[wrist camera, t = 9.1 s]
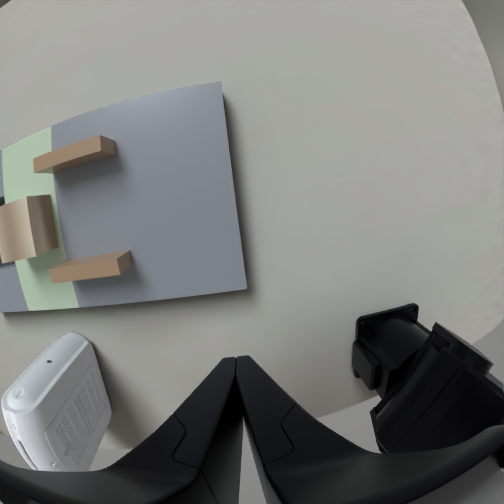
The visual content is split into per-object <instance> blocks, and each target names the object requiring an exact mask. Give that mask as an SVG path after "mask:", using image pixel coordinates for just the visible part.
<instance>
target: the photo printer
mask: <svg viewBox="0 0 504 504" xmlns="http://www.w3.org/2000/svg"><path fill="white" fill-rule="evenodd" d="M2 410H3V415H4V419H5V422H6V425H7V428H8V430H9V433H10V435H11V437H12V439H13V441H14V443H15V445H16V447H17V449H18V450H19V452H20V453H21V455H22V456H23V458H24V459H25V461H26V462H27V463H28V464H29V466H30V467H31V468H32V469H33V470H39V471H60V472H86V471H89V469H90V466H91V464H92V461H93V459H94V457H95V454H96V452H97V449H98V447H99V445H100V442H101V440H102V438H103V435H104V433H105V431H106V429H107V426H108V424H109V422H110V419H111V416H112V411H111V406H110V402H109V399H108V396H107V393H106V389H105V386H104V383H103V379H102V376H101V373H100V369H99V365H98V362H97V359H96V355H95V352H94V349H93V347H92V344H91V342H90V341H88V340H87V339H86V338H85V337H83V336H82V335H79V334H77V333H68V334H66V335H64V336H63V337H59V338H58V339H56V340H55V341H54V342H53V343H52V344H51V345H50V346H49V347H48V348H47V349H46V350H45V351H44V352H43V353H42V354H41V355H40V356H39V357H38V358H37V359H36V360H35V361H34V362H33V363H32V364H31V365H30V366H29V367H28V368H27V369H26V370H25V371H24V372H23V373H22V374H21V375H20V376H19V377H18V379H17V380H16V381H15V382H14V383H13V384H12V385H11V386H10V387H9V388H8V389H7V391H6V392H5V394H4V395H3V398H2Z"/></svg>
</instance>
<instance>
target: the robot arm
mask: <svg viewBox="0 0 504 504" xmlns="http://www.w3.org/2000/svg"><path fill="white" fill-rule="evenodd" d="M413 308H414V310H413ZM418 310H419V307H418V305H416V304H415V303H412V304H408V305H405V306H401V307H397V308H393V309H389V310H385V311H381V312H377V313H373V314H369V315H365V316H361V317H359V318H358V319H357V322H356V340H355V341H354V343H353V358H352V365H353V367H354V372H353V373H354V375H355V377H356V378H360V377H361V378H362V380H363V381H364V383H365V384H366V386H367V387H368V389H370V390H376V392H377V393H378V395H379V396H380V397H381V399H382V400H381V401H380V402H379V404H378V405H377V406H376V407H374V408H373V409H372V410H371V411H370V414H371V419H372V423H373V428H374V433H375V437H376V442H377V445H378V447H379V450H380V452H382V454H381V453H380V454H379V453H374V452H370V451H367V450H365V449H363V448H361V447H359V446H357V445H355V444H354V443H352V442H350V441H349V440H347V439H345V438H344V437H342V436H340V435H339V434H337V433H336V432H334V431H332V430H331V429H329V428H328V427H326V426H325V425H323V424H322V423H321V422H319V421H318V420H316V419H315V418H314V417H312V416H311V415H310V414H309V413H308V412H307V411H305V410H304V409H303V408H302V407H301V406H300V405H299V404H297V402H296V401H295V400H294V399H292V398H291V397H290V396H289V395H288V394H287V393H286V392H285V391H284V390H283V389H282V388H281V387H280V386H279V385H278V384H277V383H276V382H275V381H274V380H273V379H272V378H271V377H270V376H269V375H268V374H267V373H266V372H265V371H264V370H263V369H262V368H261V367H260V366H259V365H258V364H257V363H256V362H255V361H254V360H253V359H252V358H251V357H250V356H249V355H246V356H238V357H237V358H235V357H228V358H223V359H222V360H221V361H220V362H219V363H218V365H217V366H216V367H215V368H214V369H213V370H212V371H211V372H210V374H209V375H208V376H207V377H206V378H205V379H204V380H203V381H202V382H201V384H200V385H199V386H198V387H197V388H196V389H195V390H194V391H193V392H192V393H191V394H190V396H189V397H188V398H187V399H186V400H185V401H184V402H183V403H182V404H181V405H180V406H179V407H178V409H177V410H176V411H175V412H174V413H173V415H171V416H170V417H169V418H168V419H167V420H166V421H165V422H164V423H163V424H162V425H161V426H160V427H159V428H158V429H157V430H156V431H155V432H154V433H152V434H151V435H150V436H149V437H148V438H146V439H145V440H144V441H143V442H142V443H140V444H139V445H138V446H136V447H135V448H134V449H133V450H131V451H130V452H129V453H127V454H126V455H125V456H123V457H122V458H121V459H119V460H118V461H117V462H116V463H114V464H112V465H111V466H109V467H107V468H104V469H102V470H98V471H86V472H60V471H39V470H30V469H24V468H19V467H15V466H12V465H10V464H7V463H5V462H3V461H2V460H0V500H1V502H3V504H238V503H239V486H240V471H241V470H240V469H241V455H242V439H243V417H244V422H245V426H246V430H247V434H248V438H249V442H250V446H251V450H252V453H253V457H254V461H255V464H256V468H257V471H258V475H259V479H260V482H261V485H262V489H263V493H264V496H265V499H266V503H267V504H504V385H503V383H502V382H500V381H499V380H498V379H497V378H495V377H494V376H493V375H492V374H490V373H489V370H490V369H491V367H492V366H493V363H492V362H491V361H490V360H489V359H488V358H487V357H485V356H484V355H483V354H482V353H481V352H480V351H479V350H477V349H476V348H475V347H473V346H472V345H470V344H469V343H468V342H466V341H465V340H463V339H462V338H460V337H459V336H457V335H456V334H454V333H453V332H451V331H449V330H448V329H446V328H445V327H443V326H441V325H440V324H438V323H437V322H435V324H434V326H433V327H432V329H433V330H432V331H429V330H428V329H427V328H425V327H424V326H423V325H422V324H420V323H419V322H418V321H417V319H418ZM362 321H364V322H363V323H362V324H361V322H362Z"/></svg>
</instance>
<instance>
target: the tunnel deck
mask: <svg viewBox="0 0 504 504" xmlns="http://www.w3.org/2000/svg"><path fill="white" fill-rule="evenodd" d="M48 194H50V198H51V206H52V213H53V219H54V225H55V231H56V237H57V242H58V248H56V249H53V250H51V251H48V252H46V253H44V254H41V255H39V256H36V257H31V258H26V259H22V260H17V261H12V262H7V263H2V260H1V255H0V312H19V311H37V310H52V309H66V308H79V307H92V306H103V305H114V304H125V303H135V302H144V301H154V300H163V299H172V298H180V297H189V296H197V295H205V294H213V293H220V292H228V291H235V290H243V289H247V283H246V276H245V268H244V261H243V253H242V246H241V238H240V231H239V223H238V215H237V208H236V200H235V192H234V184H233V176H232V168H231V160H230V152H229V144H228V136H227V128H226V119H225V111H224V103H223V94H222V86H221V82H217V83H210V84H203V85H196V86H190V87H184V88H179V89H174V90H169V91H164V92H159V93H155V94H150V95H146V96H142V97H138V98H134V99H130V100H127V101H123V102H119V103H116V104H112V105H109V106H106V107H103V108H100V109H96V110H93V111H90V112H88V113H85V114H82V115H79V116H76V117H74V118H71V119H68V120H66V121H63V122H61V123H58V124H56V125H53V126H51V127H49V128H46V129H44V130H42V131H39V132H37V133H35V134H33V135H31V136H29V137H26V138H24V139H22V140H20V141H18V142H16V143H14V144H12V145H10V146H9V147H7V148H5V149H3V150H1V151H0V206H2V205H5V204H8V203H10V202H13V201H15V200H18V199H21V198H24V197H26V196H37V195H48Z"/></svg>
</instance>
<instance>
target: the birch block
mask: <svg viewBox="0 0 504 504" xmlns="http://www.w3.org/2000/svg"><path fill="white" fill-rule="evenodd" d="M56 248H58V242H57V237H56V231H55V225H54V219H53V213H52V206H51V198H50V194H48V195H37V196H26V197H24V198H21V199H18V200H15V201H13V202H10V203H8V204H5V205H2V206H0V255H1V260H2V263H7V262H12V261H17V260H22V259H26V258H31V257H36V256H39V255H41V254H44V253H46V252H48V251H51V250H53V249H56Z"/></svg>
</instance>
